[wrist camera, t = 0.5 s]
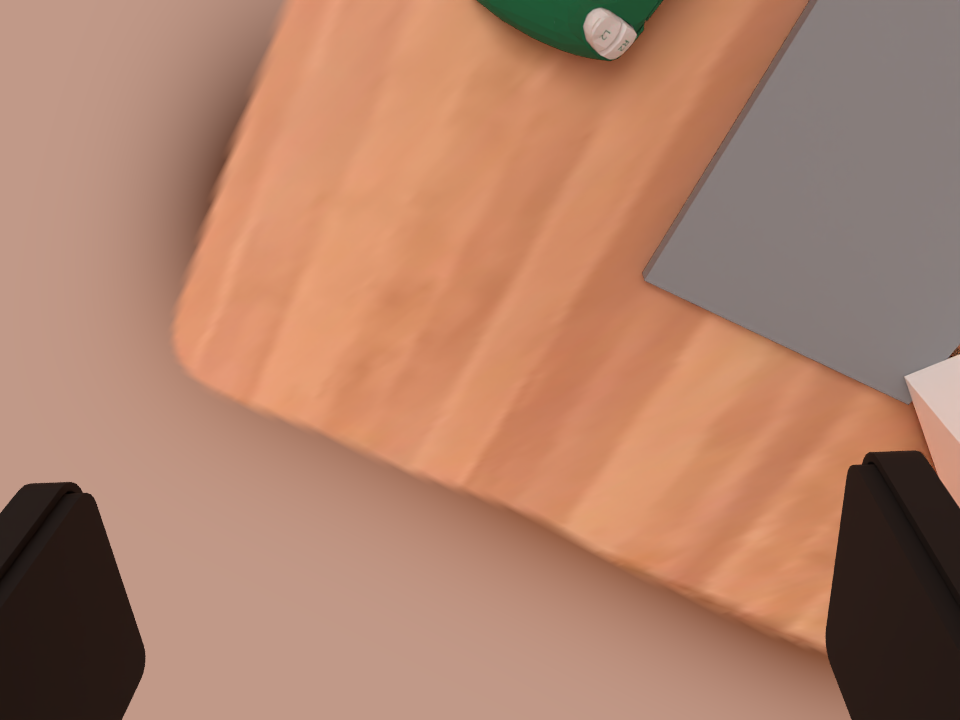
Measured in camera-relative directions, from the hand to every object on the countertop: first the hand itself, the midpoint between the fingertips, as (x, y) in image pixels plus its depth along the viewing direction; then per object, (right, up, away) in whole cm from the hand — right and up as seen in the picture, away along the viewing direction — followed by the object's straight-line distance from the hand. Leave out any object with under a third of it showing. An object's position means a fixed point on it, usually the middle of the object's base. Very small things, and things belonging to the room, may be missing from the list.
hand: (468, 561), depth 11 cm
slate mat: (+16, +10, +24) cm, 30 cm away
